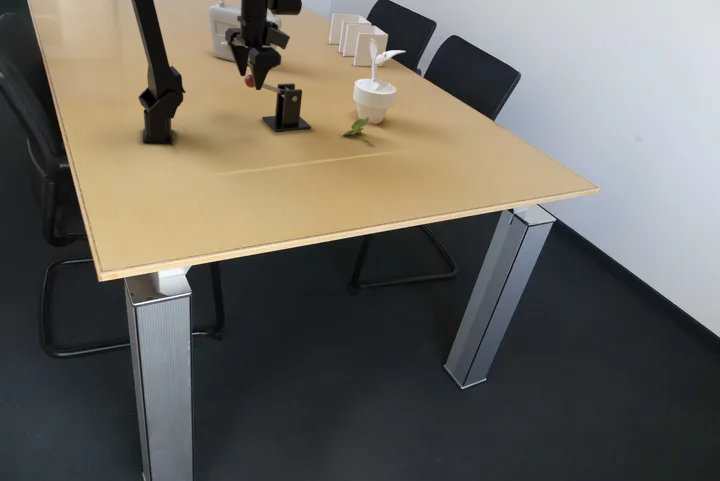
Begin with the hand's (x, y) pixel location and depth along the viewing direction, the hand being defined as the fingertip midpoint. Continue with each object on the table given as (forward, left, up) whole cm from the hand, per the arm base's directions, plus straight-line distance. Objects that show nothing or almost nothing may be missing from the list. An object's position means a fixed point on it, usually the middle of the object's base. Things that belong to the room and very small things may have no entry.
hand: (250, 82), depth 133 cm
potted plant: (+9, -35, -12) cm, 38 cm away
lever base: (+3, -10, -12) cm, 16 cm away
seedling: (-4, -27, -12) cm, 30 cm away
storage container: (+69, -47, -12) cm, 84 cm away
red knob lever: (+1, -5, -3) cm, 5 cm away
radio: (+52, -4, -12) cm, 53 cm away
